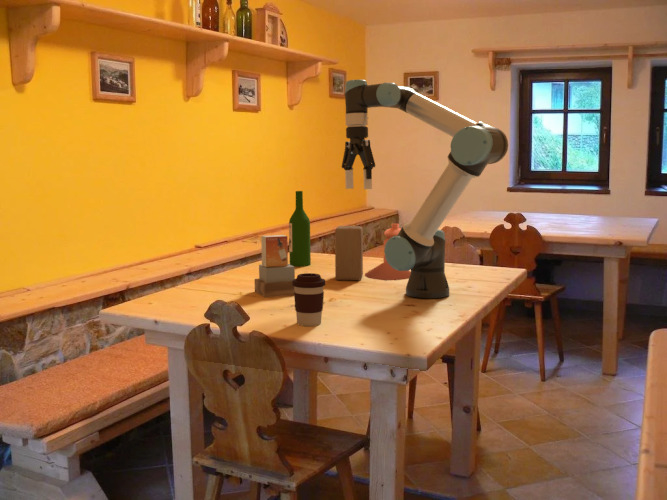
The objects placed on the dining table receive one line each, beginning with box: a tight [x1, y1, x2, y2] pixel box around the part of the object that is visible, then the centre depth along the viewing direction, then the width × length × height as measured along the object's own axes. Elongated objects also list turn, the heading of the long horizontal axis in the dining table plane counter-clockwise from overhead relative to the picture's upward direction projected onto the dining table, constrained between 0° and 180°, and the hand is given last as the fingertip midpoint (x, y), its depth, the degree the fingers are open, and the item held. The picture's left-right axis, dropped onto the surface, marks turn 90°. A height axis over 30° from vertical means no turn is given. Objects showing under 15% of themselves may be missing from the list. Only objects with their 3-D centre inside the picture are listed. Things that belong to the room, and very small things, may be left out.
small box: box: [261, 234, 289, 267], centre depth 254 cm, size 8×6×10 cm
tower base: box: [254, 278, 295, 298], centre depth 256 cm, size 12×12×5 cm
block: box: [334, 225, 364, 281], centre depth 284 cm, size 10×10×20 cm
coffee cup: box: [292, 272, 327, 327], centre depth 221 cm, size 10×10×15 cm
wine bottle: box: [288, 190, 312, 268], centre depth 313 cm, size 9×9×32 cm
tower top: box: [258, 263, 296, 283], centre depth 256 cm, size 10×10×5 cm
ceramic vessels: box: [364, 223, 411, 281], centre depth 298 cm, size 35×21×19 cm, turn 169°
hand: (358, 189), depth 254 cm, fingers open, 13 cm apart
